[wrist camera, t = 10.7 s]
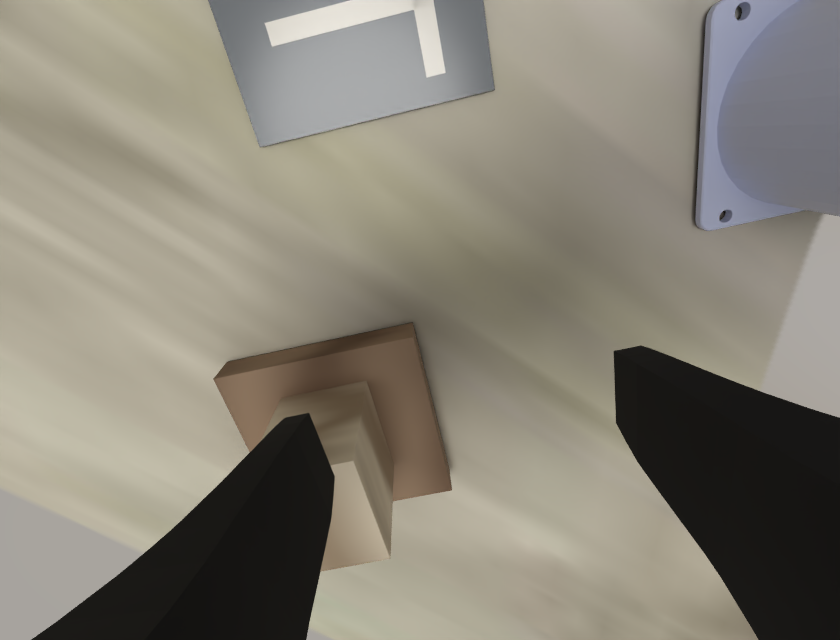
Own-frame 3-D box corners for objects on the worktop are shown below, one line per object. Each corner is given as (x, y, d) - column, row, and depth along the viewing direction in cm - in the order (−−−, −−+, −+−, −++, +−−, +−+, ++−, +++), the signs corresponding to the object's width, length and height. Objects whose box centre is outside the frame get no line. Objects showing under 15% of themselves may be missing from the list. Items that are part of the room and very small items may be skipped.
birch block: (366, 380, 19) (353, 460, 14) (393, 464, 21) (390, 558, 16) (280, 398, 19) (240, 483, 14) (316, 479, 21) (290, 576, 16)
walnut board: (412, 322, 19) (413, 337, 18) (449, 468, 23) (451, 490, 21) (226, 361, 20) (213, 378, 18) (291, 498, 23) (284, 521, 22)
